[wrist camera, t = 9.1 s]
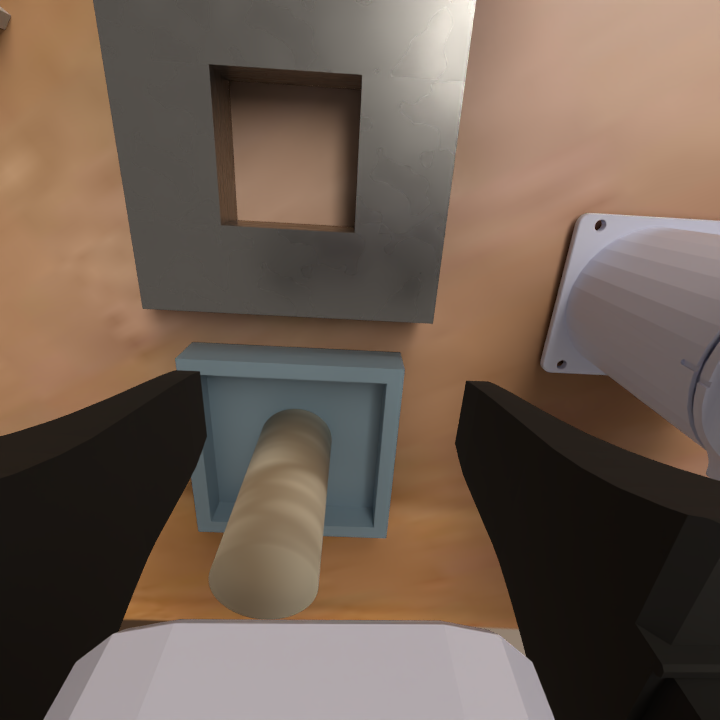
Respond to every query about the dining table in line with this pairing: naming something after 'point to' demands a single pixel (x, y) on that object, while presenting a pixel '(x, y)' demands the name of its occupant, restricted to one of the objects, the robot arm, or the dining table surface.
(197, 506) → the slate tray
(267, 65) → the hitch block
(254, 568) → the birch peg
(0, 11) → the pliers
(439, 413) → the dining table surface
